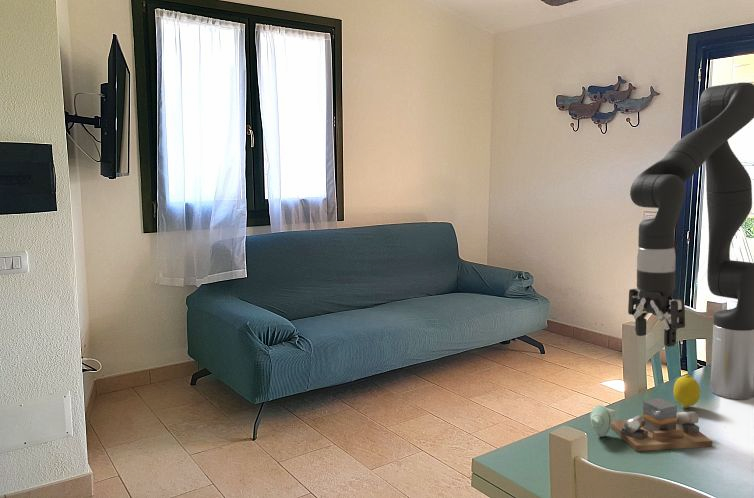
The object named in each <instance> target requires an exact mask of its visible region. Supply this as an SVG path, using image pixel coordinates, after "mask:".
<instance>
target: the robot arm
mask: <svg viewBox="0 0 754 498" xmlns="http://www.w3.org/2000/svg"><path fill="white" fill-rule="evenodd" d="M698 106H699V107H698V111H699V113H698V114H699V115H698V116H699V122H700V127H698V128H696V129H694V130H693V131H691V132H689V133H688V134H686V135H684V136H683V137H682V138H680V140H678V141H677V142H676V143H675V144H674V145H673V146H672V148H670V150H669V151H668V152H667V153H666V154H665V156H664V157H663V158H661V159H660V160H658V161H657V162H655V163H654V164H652V165H651V166H649V167H648V168H646V169H645V170H644V171H642V172H641V173H640V174H638V175H637V176H636V177H635V179H634V180H633V182H632V184H631V185H630V190H629V191H630V192H629V197H630V199H631V201H632V202H633V204H634V205H636V206H638V207H639V208H640V207H641V208H649V209H650V208H652V209H657V212H656V215H655V217H653V218H652V217H651V218H647V219H643V220H642V221H641V222H640V223H639V224H638V225H639V226H638V242H637V243H638V248H637V256H636V287H635V288H631V289H630V288H629V290H628V309H627V313H628V315H630V316H631V315H632V316H633V319H634V320H635V324H634V325H635V326H634V327H635V329H634V330H635V334H636V336H638V337H641V336H642V337H643V336H646V335H647V318H646V317H648V315H649V314H652V315H653V316H656V317H657V318H658V320H659V321H661V322H662V325H663V327H664V331H663V332H664V333H663V334H664V335H663V344H664V347H669V348H670V347H674V346H675V345H676V343H677V330H678V329H684V328H686V313H685V311H686V309H685V308H686V307H685V306H686V304H685V300H684V299H674V298H673V294H672V293H673V292H674V290H675V288H676V269H677V268H676V267H677V266H676V264H677V261H676V260H677V258H676V257H677V256H676V250H675V244H676V241H675V239H676V226H677V223H678V220H679V216H680V212H681V209H682V207H683V204H684V200H685V197H686V196H685V195H686V187H685V184H684V183H685V182H687V181H689V180H690V179H692V177H693V176H694V175H695V173H697V172H698V170H699V169H700V168H701V167H702V165H703V164H704V163H705V173H706V174H705V177H706V178H705V179H706V181H705V182H706V184H705V185H706V189H705V190H706V206H707V207H706V208H707V219H708V252H707V253H708V255H707V272H706V273H707V274H706V276H707V277H706V278H707V286H708V289H709V291H710V293H711V294H713V295H714V296H716V297H723V298H727V299H733V300H737V302H736V306H735V307H734V308H729V309H722V310H718V311H716V312H715V313H714V314H713V322H712V323H713V325H712V346H711V368H710V369H711V371H710V391H711V392H712V393H713V394H715V395H717V396H719V397H723V398H727V399H732V400H733V399H735V400H748V399H751V398H753V397H754V262H750V261H740V260H732V259H731V258H730V257H731V256H730V251H731V244H732V241H733V239H734V237H735V235H736V233H737V232H738V231H739V230H740V228H741V227H742V225H743V224H744V223H745V221H746V220H747V218H748V216H749V215H750V213H751V211H752V207H753V188H752V187H753V186H752V179H751V177H750V175H749V173H748V171H747V170H746V168H745V166H744V165H743V164H742V162H741V161H740V160H739V158H738V157H737V156H736V154H735V153H734V151H733V150H732V147H731V146H730V144H729V139H731V138H732V137H733V136H734V135H736V134H737V133H738V132H739V131H740V130H742V129H743V128H744V127H745V126H747V125H748V124H750V122H752V121H753V120H754V83H752V82H745V81H744V82H734V83H726V84H720V85H712V86H709V87H707V88H704V90H703V92H702V93H701V95H700V98H699V105H698ZM666 313H667V314H666ZM669 321H670V322H669Z"/></svg>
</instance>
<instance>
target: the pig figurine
mask: <svg viewBox="0 0 754 498" xmlns="http://www.w3.org/2000/svg"><path fill="white" fill-rule="evenodd" d="M616 413H617V411H616V410H614V409H610V408H607V407H606V406H605V405H602V404H599V405H598V404H597V405H595V406H594V407H593V408H592V410H591V411H590V415H589V416H590V421H591V426H592V429H593V430H594V432H595V434H596V435H597V436H598V437H602V438H603V437H605V436H606V435H607V434H608V433H609V432H610V429H611V423H612V420H614V417H615V414H616Z"/></svg>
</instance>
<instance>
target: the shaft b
mask: <svg viewBox="0 0 754 498" xmlns="http://www.w3.org/2000/svg"><path fill="white" fill-rule="evenodd" d="M635 416H636V417H635ZM635 416H634V417H632V418H629V419H630V420H628V421H627V422H625V424H624V427H622V434H625V435H628V436H631V437H634V438H636V439H639V440H643V439H645V438H647V437H648V431H645V430H642V429H640V428H642V427H643V426H644V425H645V420H644V419H643V418H642V417H641V416H642V415H635Z"/></svg>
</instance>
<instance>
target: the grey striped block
mask: <svg viewBox="0 0 754 498" xmlns="http://www.w3.org/2000/svg"><path fill="white" fill-rule="evenodd" d="M677 408H678V405H676V404H674V403H672V402H670V401H667V400H666V399H663V398H660V397H657V398H653V399H648V400H645V401H643V407H642V409H643V410H642V416H643V419H644V420H645V425H644V426H643V429H645V430H647V431H649V432H651V433H653V431H663V430H676V421H677V417H676V415H677V413H678V412H677V411H678V409H677Z"/></svg>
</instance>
